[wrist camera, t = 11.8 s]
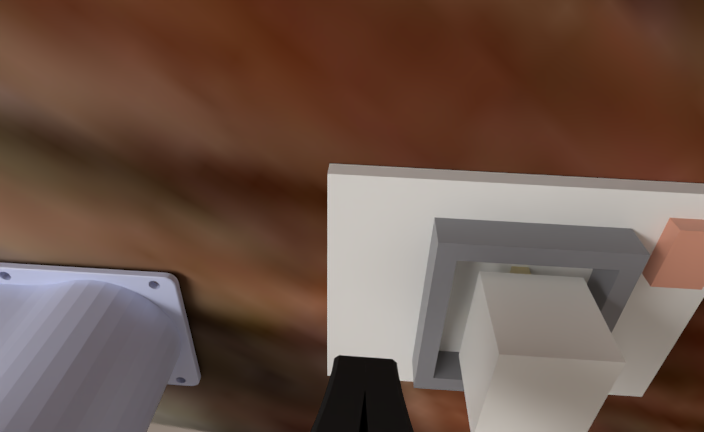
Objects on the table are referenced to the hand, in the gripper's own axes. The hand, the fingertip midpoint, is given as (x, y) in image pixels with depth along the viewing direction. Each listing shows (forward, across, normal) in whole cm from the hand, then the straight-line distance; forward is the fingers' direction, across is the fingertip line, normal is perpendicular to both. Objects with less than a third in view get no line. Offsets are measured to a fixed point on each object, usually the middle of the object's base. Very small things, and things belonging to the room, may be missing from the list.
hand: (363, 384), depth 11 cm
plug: (+9, -6, +5) cm, 12 cm away
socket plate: (+9, -6, +5) cm, 13 cm away
